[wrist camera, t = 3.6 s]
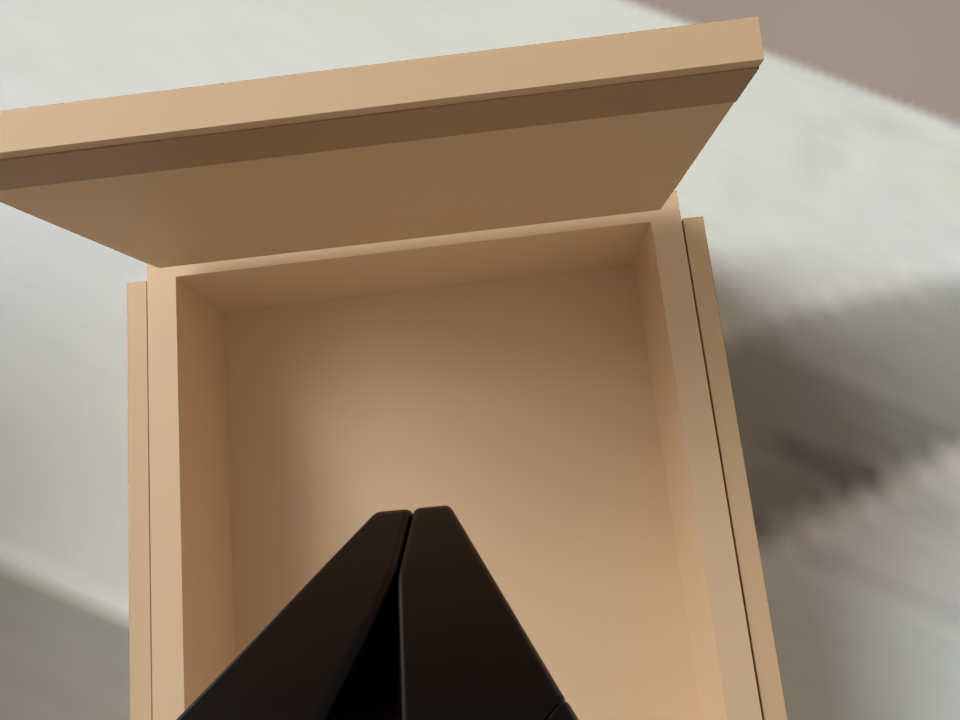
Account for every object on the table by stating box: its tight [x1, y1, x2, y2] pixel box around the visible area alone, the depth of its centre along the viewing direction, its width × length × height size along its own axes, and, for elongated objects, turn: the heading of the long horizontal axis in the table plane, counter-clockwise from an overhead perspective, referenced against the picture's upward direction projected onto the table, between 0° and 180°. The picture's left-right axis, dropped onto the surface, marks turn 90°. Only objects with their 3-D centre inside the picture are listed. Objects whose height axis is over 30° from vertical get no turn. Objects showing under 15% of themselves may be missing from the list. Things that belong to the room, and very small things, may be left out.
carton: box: [127, 191, 788, 720], centre depth 16 cm, size 18×12×3 cm, turn 6°
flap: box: [0, 17, 764, 268], centre depth 13 cm, size 1×10×7 cm, turn 96°
